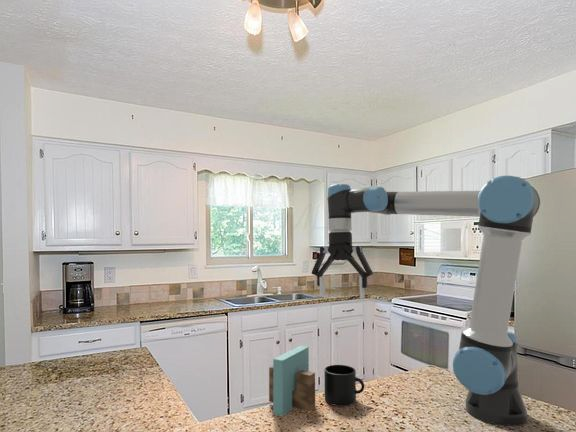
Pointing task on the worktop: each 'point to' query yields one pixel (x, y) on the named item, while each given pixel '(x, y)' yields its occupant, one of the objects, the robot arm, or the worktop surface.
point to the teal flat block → (287, 377)
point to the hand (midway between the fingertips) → (342, 297)
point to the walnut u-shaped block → (299, 390)
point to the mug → (341, 385)
